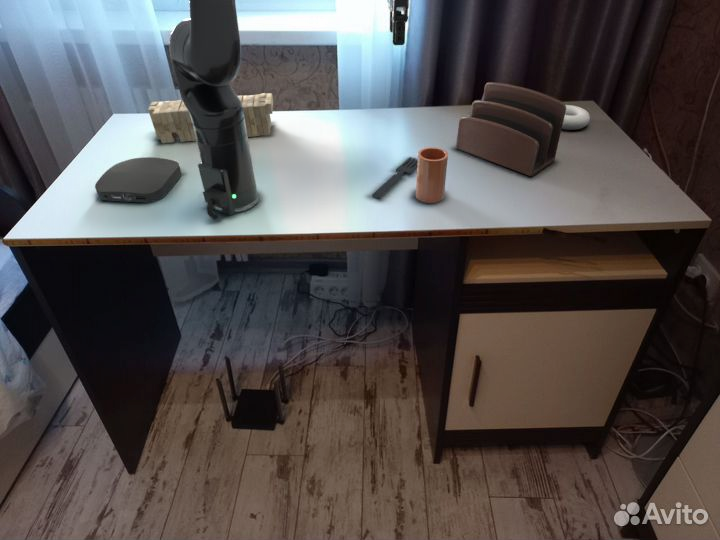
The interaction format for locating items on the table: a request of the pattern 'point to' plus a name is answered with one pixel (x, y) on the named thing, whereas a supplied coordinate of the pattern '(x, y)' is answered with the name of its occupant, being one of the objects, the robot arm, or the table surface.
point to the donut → (575, 118)
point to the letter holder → (513, 128)
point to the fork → (397, 177)
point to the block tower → (177, 120)
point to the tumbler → (431, 174)
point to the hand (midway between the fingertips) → (396, 38)
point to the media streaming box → (138, 180)
